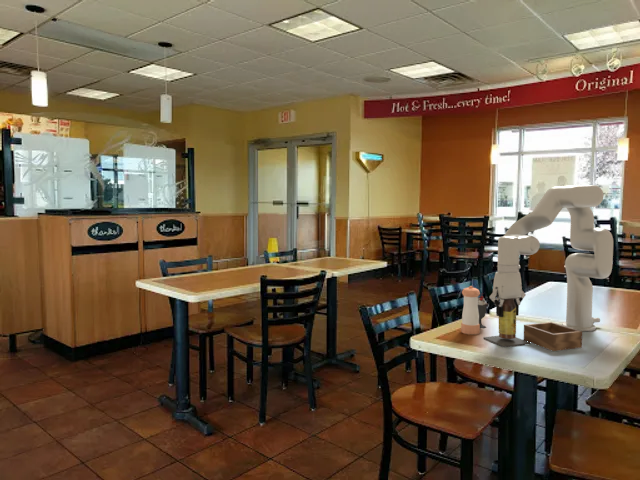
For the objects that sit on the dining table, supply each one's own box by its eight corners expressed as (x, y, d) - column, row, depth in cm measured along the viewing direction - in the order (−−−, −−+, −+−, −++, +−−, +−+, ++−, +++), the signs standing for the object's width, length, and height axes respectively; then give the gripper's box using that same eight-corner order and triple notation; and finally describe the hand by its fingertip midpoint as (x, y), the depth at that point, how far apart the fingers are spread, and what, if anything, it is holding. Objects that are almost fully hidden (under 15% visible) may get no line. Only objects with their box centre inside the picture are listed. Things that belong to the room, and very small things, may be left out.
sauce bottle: (517, 340, 180) (518, 287, 178) (499, 339, 181) (500, 287, 180) (514, 335, 186) (514, 284, 185) (497, 334, 187) (497, 284, 186)
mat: (509, 336, 191) (509, 334, 191) (530, 344, 180) (530, 342, 180) (483, 338, 188) (483, 337, 188) (503, 347, 176) (503, 345, 176)
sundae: (483, 329, 201) (483, 294, 200) (468, 326, 206) (469, 292, 205) (491, 326, 206) (491, 292, 204) (477, 324, 211) (477, 290, 209)
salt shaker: (460, 333, 195) (460, 287, 194) (461, 329, 202) (462, 284, 201) (479, 335, 193) (479, 288, 191) (480, 330, 200) (480, 285, 198)
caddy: (550, 336, 189) (551, 322, 189) (581, 347, 175) (582, 331, 175) (523, 340, 185) (523, 324, 185) (553, 351, 171) (553, 334, 171)
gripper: (520, 266, 188) (519, 311, 189) (482, 268, 183) (481, 315, 184) (534, 268, 181) (533, 315, 182) (495, 271, 176) (494, 319, 177)
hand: (507, 315), depth 183 cm, fingers closed on sauce bottle, 6 cm apart
